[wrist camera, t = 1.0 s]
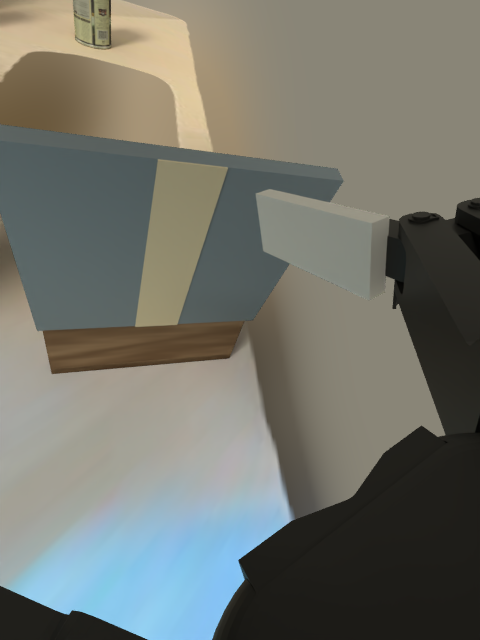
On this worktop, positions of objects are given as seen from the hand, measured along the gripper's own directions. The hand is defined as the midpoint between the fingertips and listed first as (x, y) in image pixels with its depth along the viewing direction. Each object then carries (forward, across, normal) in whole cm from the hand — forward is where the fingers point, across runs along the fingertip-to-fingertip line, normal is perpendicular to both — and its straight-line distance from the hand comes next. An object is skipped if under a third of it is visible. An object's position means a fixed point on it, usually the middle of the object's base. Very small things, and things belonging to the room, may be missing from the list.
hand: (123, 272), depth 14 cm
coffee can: (+127, +32, +22) cm, 133 cm away
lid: (+13, +5, -5) cm, 14 cm away
